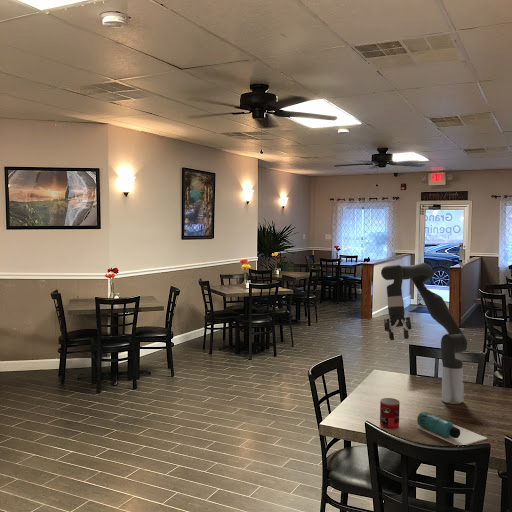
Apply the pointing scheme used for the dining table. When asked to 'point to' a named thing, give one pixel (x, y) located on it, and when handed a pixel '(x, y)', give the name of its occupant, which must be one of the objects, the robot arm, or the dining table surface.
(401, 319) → the robot arm
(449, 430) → the beverage bottle
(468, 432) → the mat
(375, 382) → the dining table surface
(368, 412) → the dining table surface
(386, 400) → the canned food
